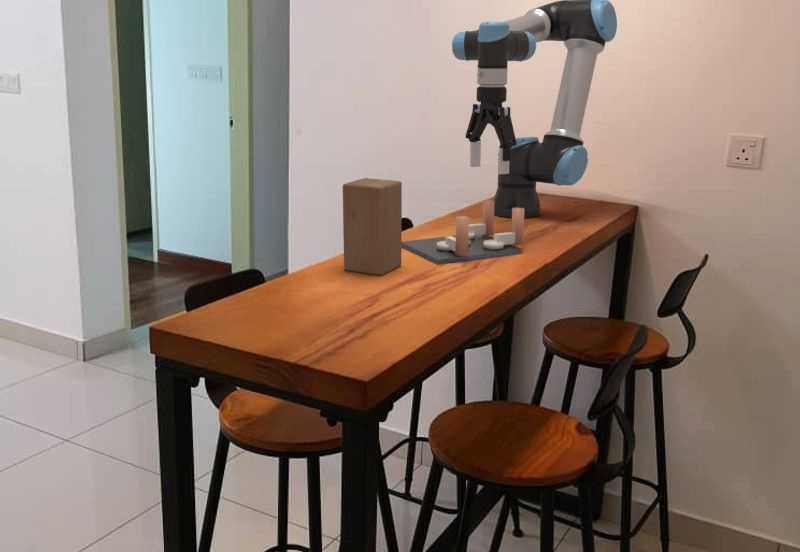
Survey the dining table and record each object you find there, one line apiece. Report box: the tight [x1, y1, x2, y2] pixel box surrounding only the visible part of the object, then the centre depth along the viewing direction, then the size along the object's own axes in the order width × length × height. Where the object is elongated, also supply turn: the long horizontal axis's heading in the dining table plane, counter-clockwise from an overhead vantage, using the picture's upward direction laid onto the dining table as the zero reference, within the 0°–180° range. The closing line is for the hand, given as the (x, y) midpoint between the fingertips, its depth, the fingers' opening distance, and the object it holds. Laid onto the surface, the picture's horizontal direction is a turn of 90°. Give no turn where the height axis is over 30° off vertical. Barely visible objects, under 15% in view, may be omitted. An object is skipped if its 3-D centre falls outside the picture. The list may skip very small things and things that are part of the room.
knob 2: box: [455, 199, 495, 239], centre depth 208 cm, size 11×5×9 cm, turn 117°
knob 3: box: [483, 208, 525, 249], centre depth 198 cm, size 11×5×9 cm, turn 117°
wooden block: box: [342, 177, 403, 276], centre depth 182 cm, size 10×10×20 cm
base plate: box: [401, 235, 524, 266], centre depth 201 cm, size 24×20×2 cm
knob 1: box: [437, 215, 470, 256], centre depth 193 cm, size 11×5×9 cm, turn 27°
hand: (488, 170), depth 207 cm, fingers open, 13 cm apart
